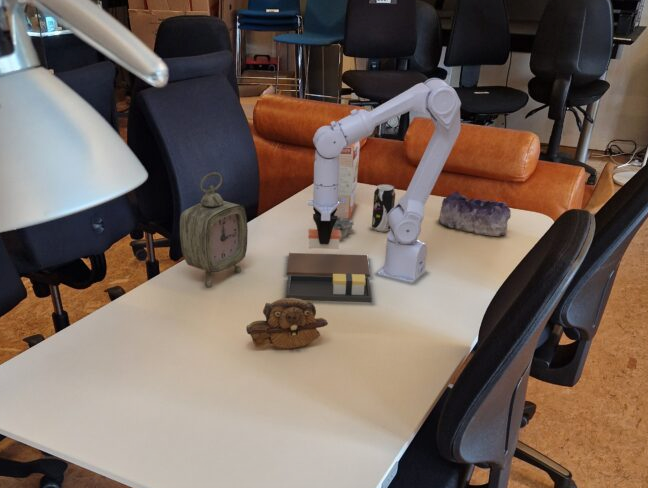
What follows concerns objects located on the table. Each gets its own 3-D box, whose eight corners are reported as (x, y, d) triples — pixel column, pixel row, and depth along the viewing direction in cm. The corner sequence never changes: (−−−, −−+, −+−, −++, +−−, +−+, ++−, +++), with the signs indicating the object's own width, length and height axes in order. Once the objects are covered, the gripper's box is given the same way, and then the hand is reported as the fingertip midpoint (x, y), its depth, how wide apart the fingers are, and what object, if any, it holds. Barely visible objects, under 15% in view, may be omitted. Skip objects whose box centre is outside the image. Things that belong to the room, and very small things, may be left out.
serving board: (367, 259, 184) (367, 255, 184) (369, 278, 174) (370, 274, 174) (289, 257, 185) (289, 252, 184) (287, 276, 175) (287, 271, 174)
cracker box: (350, 220, 208) (355, 145, 197) (330, 218, 209) (333, 144, 198) (356, 204, 220) (361, 133, 208) (337, 203, 221) (340, 132, 209)
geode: (431, 229, 203) (435, 193, 198) (442, 222, 212) (446, 187, 208) (504, 239, 195) (510, 201, 191) (512, 231, 204) (518, 195, 200)
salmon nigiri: (339, 242, 174) (339, 229, 172) (339, 248, 170) (340, 235, 168) (308, 241, 174) (308, 228, 172) (308, 248, 170) (308, 235, 169)
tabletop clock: (208, 292, 167) (202, 184, 153) (180, 282, 172) (172, 176, 158) (248, 272, 177) (246, 169, 163) (220, 263, 181) (216, 162, 168)
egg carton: (337, 243, 193) (338, 228, 191) (313, 237, 197) (313, 223, 194) (356, 231, 201) (357, 217, 199) (332, 226, 204) (333, 212, 202)
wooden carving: (250, 357, 143) (249, 311, 137) (245, 346, 146) (244, 301, 141) (329, 347, 146) (331, 302, 141) (322, 336, 150) (324, 292, 144)
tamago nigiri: (363, 287, 169) (364, 273, 167) (364, 295, 166) (365, 281, 164) (332, 286, 169) (332, 272, 168) (332, 294, 166) (333, 280, 164)
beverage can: (367, 227, 204) (370, 184, 197) (385, 224, 206) (388, 182, 199) (378, 234, 199) (381, 191, 193) (395, 231, 201) (400, 188, 195)
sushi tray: (368, 283, 172) (369, 276, 171) (370, 303, 163) (371, 297, 162) (288, 280, 173) (288, 274, 172) (286, 301, 164) (286, 294, 163)
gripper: (309, 173, 170) (307, 228, 177) (308, 192, 158) (306, 251, 165) (339, 173, 170) (336, 229, 177) (340, 193, 158) (337, 252, 165)
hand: (324, 240), depth 171 cm, fingers closed on salmon nigiri, 4 cm apart
